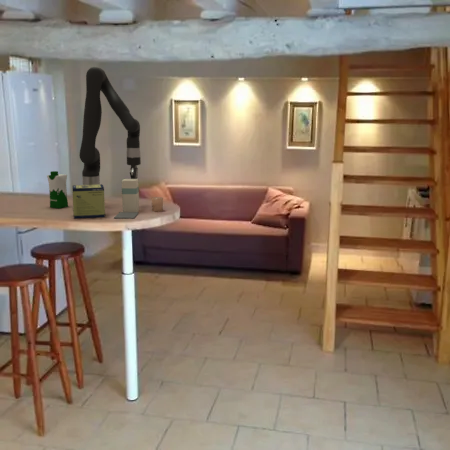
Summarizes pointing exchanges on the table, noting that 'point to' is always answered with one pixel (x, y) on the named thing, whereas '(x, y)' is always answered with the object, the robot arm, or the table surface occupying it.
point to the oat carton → (130, 195)
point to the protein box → (88, 201)
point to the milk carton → (57, 190)
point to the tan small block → (157, 204)
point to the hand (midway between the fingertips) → (134, 187)
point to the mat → (126, 215)
